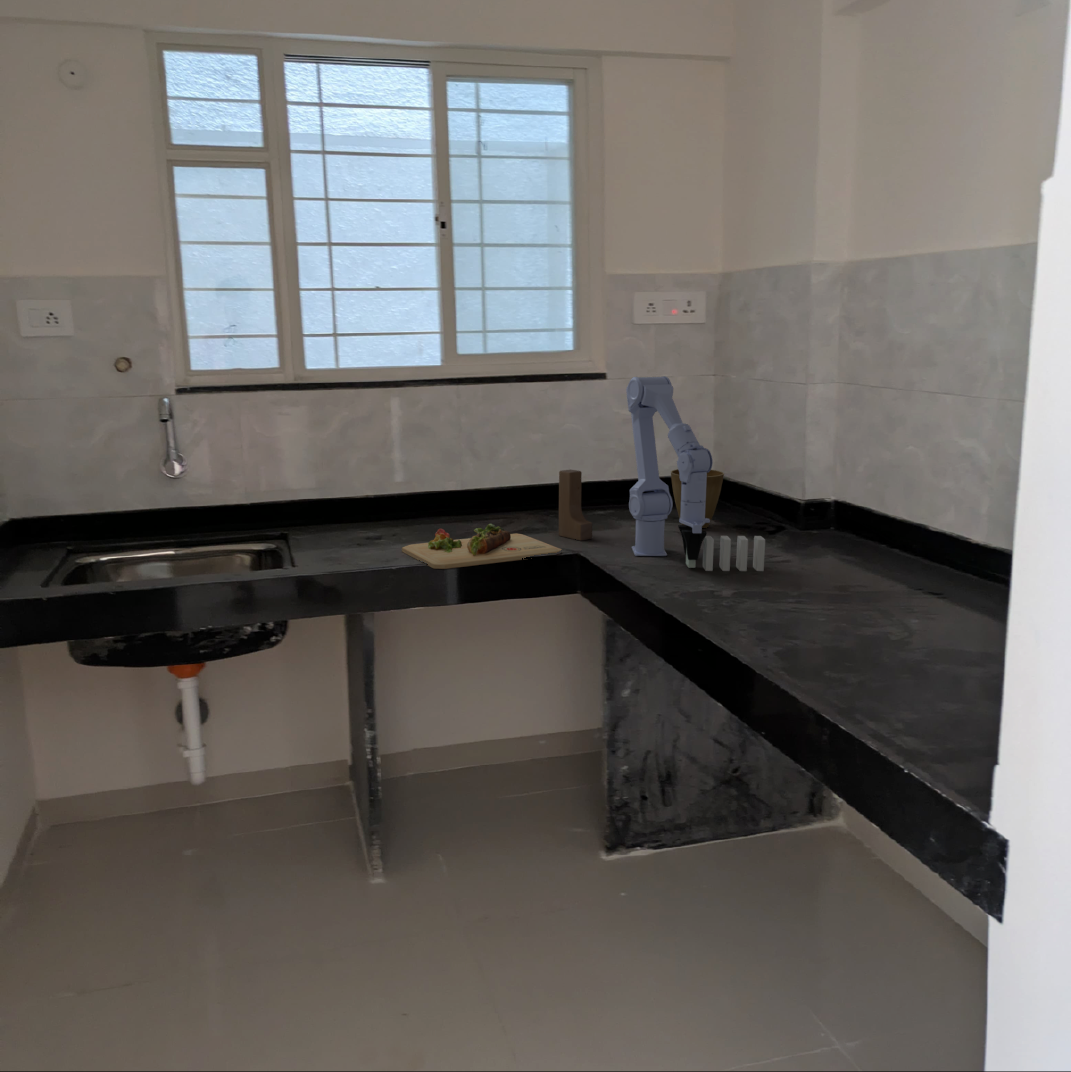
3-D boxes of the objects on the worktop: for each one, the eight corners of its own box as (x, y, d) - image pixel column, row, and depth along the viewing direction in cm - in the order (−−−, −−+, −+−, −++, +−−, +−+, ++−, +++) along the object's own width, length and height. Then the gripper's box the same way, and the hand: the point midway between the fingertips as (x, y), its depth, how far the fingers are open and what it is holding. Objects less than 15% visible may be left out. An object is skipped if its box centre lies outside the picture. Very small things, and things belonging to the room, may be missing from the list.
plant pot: (659, 524, 286) (660, 469, 282) (702, 520, 292) (704, 467, 288) (687, 534, 272) (689, 476, 269) (732, 529, 279) (734, 473, 275)
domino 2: (702, 566, 235) (703, 535, 234) (709, 566, 235) (710, 535, 234) (705, 570, 231) (707, 539, 229) (712, 570, 231) (713, 539, 229)
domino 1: (685, 563, 235) (686, 532, 234) (692, 563, 235) (693, 532, 234) (688, 567, 231) (689, 536, 229) (695, 567, 231) (696, 536, 229)
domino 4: (736, 566, 235) (737, 535, 234) (742, 566, 235) (744, 535, 234) (739, 571, 231) (741, 539, 229) (746, 571, 231) (748, 539, 229)
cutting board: (436, 572, 231) (435, 541, 229) (400, 553, 251) (399, 524, 249) (564, 557, 247) (565, 527, 246) (521, 539, 267) (521, 512, 266)
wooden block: (592, 538, 265) (593, 472, 262) (580, 541, 263) (581, 474, 259) (569, 533, 272) (570, 469, 268) (557, 535, 269) (558, 470, 266)
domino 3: (719, 566, 235) (720, 535, 234) (726, 566, 235) (727, 535, 234) (722, 570, 231) (724, 539, 229) (729, 570, 231) (730, 539, 229)
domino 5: (752, 566, 235) (754, 536, 234) (759, 566, 235) (761, 536, 234) (756, 571, 231) (758, 539, 229) (763, 571, 231) (765, 539, 229)
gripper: (715, 506, 223) (713, 564, 225) (705, 495, 237) (702, 550, 240) (684, 506, 223) (682, 564, 225) (675, 495, 237) (673, 550, 240)
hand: (691, 557), depth 233 cm, fingers closed on domino 1, 4 cm apart
